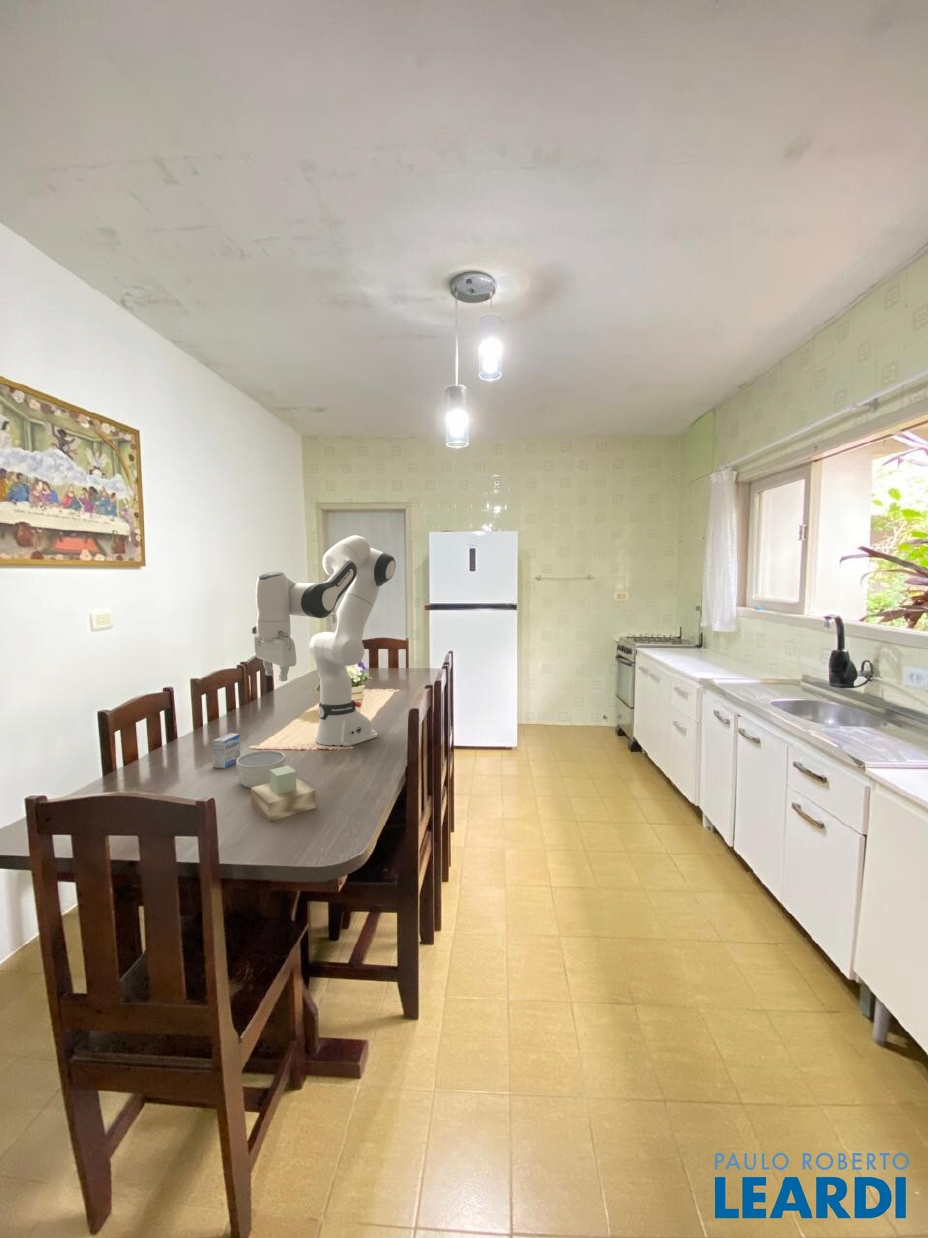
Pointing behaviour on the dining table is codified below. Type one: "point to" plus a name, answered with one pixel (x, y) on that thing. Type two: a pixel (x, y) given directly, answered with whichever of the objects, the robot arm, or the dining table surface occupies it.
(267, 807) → the birch block
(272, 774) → the sage cube
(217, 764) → the medicine box
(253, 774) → the ramekin
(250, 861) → the dining table surface
